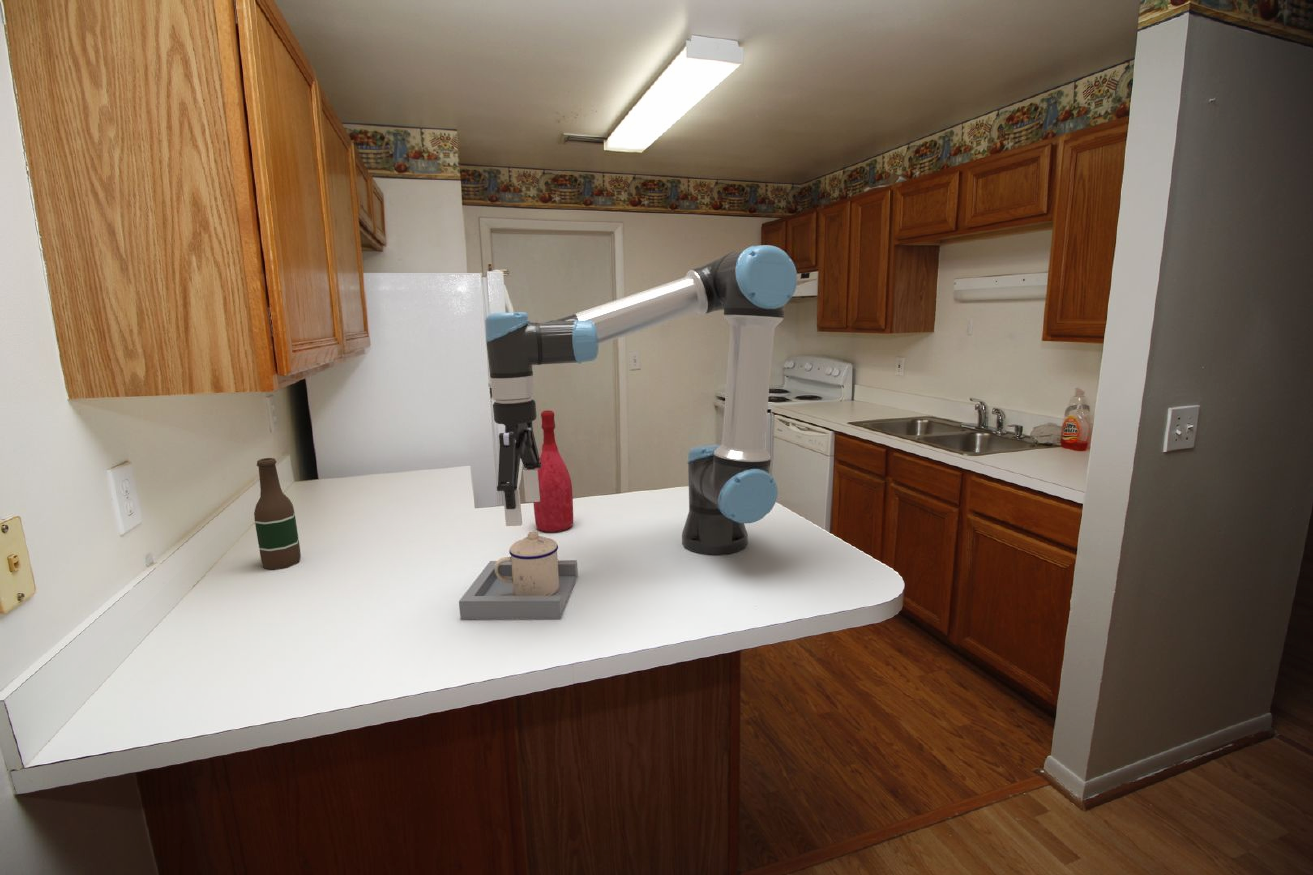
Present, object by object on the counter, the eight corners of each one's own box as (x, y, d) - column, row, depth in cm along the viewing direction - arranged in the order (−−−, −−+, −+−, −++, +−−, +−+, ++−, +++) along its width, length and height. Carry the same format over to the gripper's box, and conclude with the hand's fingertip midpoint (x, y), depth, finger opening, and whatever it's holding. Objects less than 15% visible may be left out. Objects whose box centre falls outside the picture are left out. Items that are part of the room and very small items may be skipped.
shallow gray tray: (577, 576, 126) (576, 560, 125) (560, 618, 108) (559, 600, 107) (491, 576, 127) (490, 560, 126) (460, 619, 109) (458, 601, 108)
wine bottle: (566, 534, 150) (559, 414, 144) (529, 532, 152) (520, 413, 146) (579, 521, 159) (573, 407, 153) (543, 519, 161) (536, 407, 155)
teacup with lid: (558, 577, 123) (555, 522, 120) (562, 597, 114) (558, 538, 112) (497, 585, 120) (492, 528, 118) (496, 606, 111) (491, 545, 109)
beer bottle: (307, 562, 137) (291, 458, 132) (267, 573, 131) (250, 465, 127) (295, 553, 142) (280, 453, 137) (257, 564, 137) (240, 460, 132)
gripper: (512, 391, 122) (521, 493, 126) (469, 412, 98) (482, 537, 102) (549, 390, 122) (557, 492, 126) (515, 410, 97) (527, 536, 102)
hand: (524, 512), depth 114 cm, fingers open, 13 cm apart
